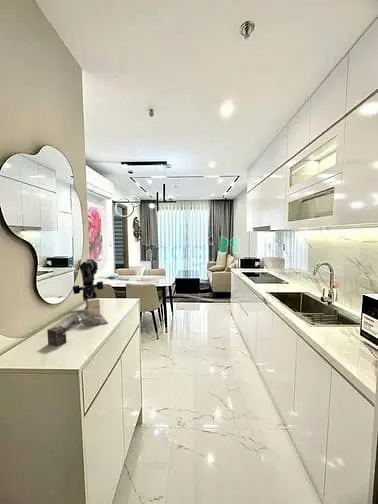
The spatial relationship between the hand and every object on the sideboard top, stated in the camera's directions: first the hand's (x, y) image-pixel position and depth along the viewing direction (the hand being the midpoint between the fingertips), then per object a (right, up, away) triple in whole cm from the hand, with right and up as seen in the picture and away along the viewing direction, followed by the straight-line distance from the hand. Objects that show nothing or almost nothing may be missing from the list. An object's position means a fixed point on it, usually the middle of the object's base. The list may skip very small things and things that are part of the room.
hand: (90, 298), depth 189 cm
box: (0, -14, -47) cm, 49 cm away
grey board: (+4, -12, -6) cm, 14 cm away
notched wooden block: (+6, -12, -10) cm, 17 cm away
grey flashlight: (-5, -13, -22) cm, 26 cm away
